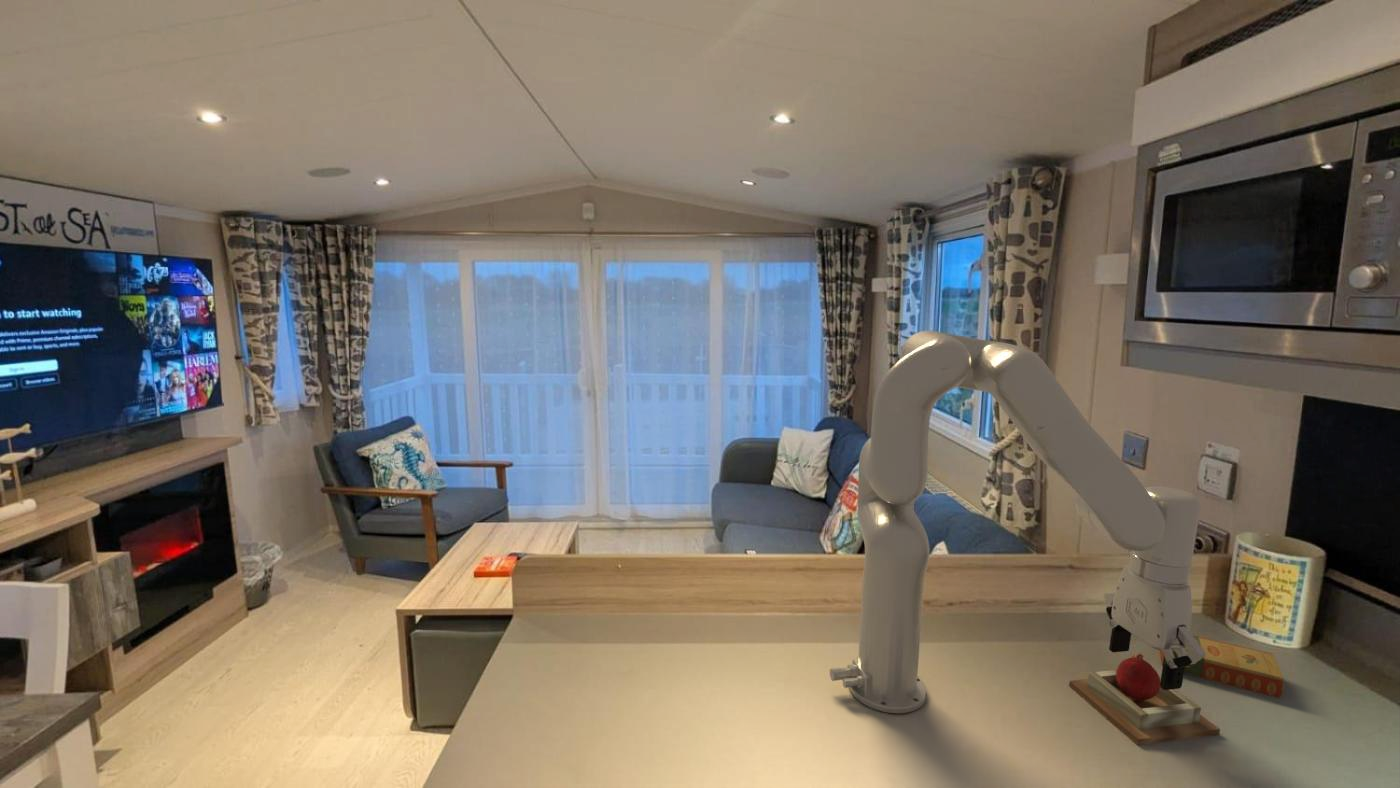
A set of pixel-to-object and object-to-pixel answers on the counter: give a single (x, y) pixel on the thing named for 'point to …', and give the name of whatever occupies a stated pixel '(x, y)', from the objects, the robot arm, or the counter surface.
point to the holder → (1144, 711)
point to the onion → (1138, 678)
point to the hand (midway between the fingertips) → (1143, 668)
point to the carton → (1236, 667)
